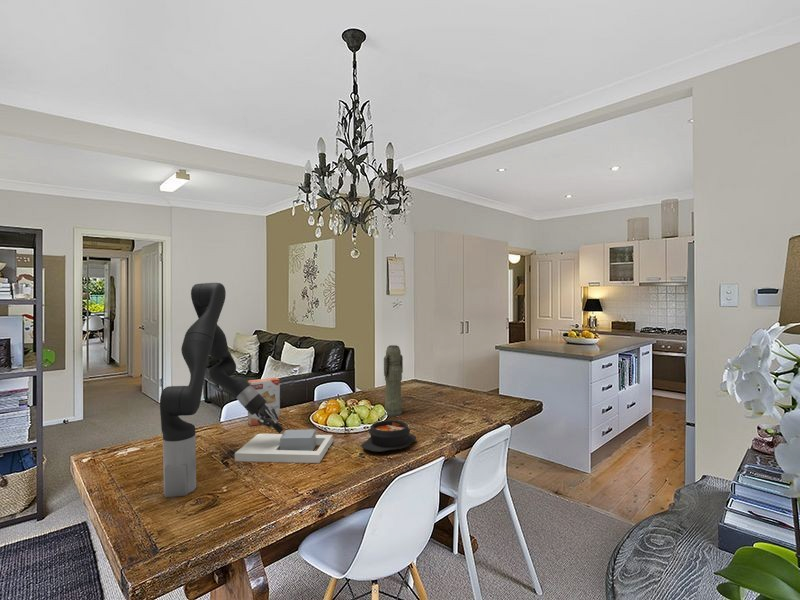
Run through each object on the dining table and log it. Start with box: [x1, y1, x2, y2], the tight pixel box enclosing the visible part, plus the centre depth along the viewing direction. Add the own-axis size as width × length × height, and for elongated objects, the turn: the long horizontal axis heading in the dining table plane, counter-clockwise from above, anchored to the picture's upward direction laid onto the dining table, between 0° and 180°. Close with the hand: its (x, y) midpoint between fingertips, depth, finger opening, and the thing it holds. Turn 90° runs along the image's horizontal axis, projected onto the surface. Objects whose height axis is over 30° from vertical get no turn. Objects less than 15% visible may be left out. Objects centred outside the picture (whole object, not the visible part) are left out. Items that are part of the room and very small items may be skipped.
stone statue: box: [383, 344, 404, 417], centre depth 220 cm, size 9×12×35 cm
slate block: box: [280, 428, 317, 451], centre depth 169 cm, size 10×12×7 cm
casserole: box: [361, 419, 417, 453], centre depth 174 cm, size 25×19×8 cm
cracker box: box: [247, 376, 281, 427], centre depth 206 cm, size 14×6×21 cm, turn 125°
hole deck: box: [234, 433, 334, 464], centre depth 169 cm, size 22×32×3 cm
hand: (281, 431), depth 169 cm, fingers closed
